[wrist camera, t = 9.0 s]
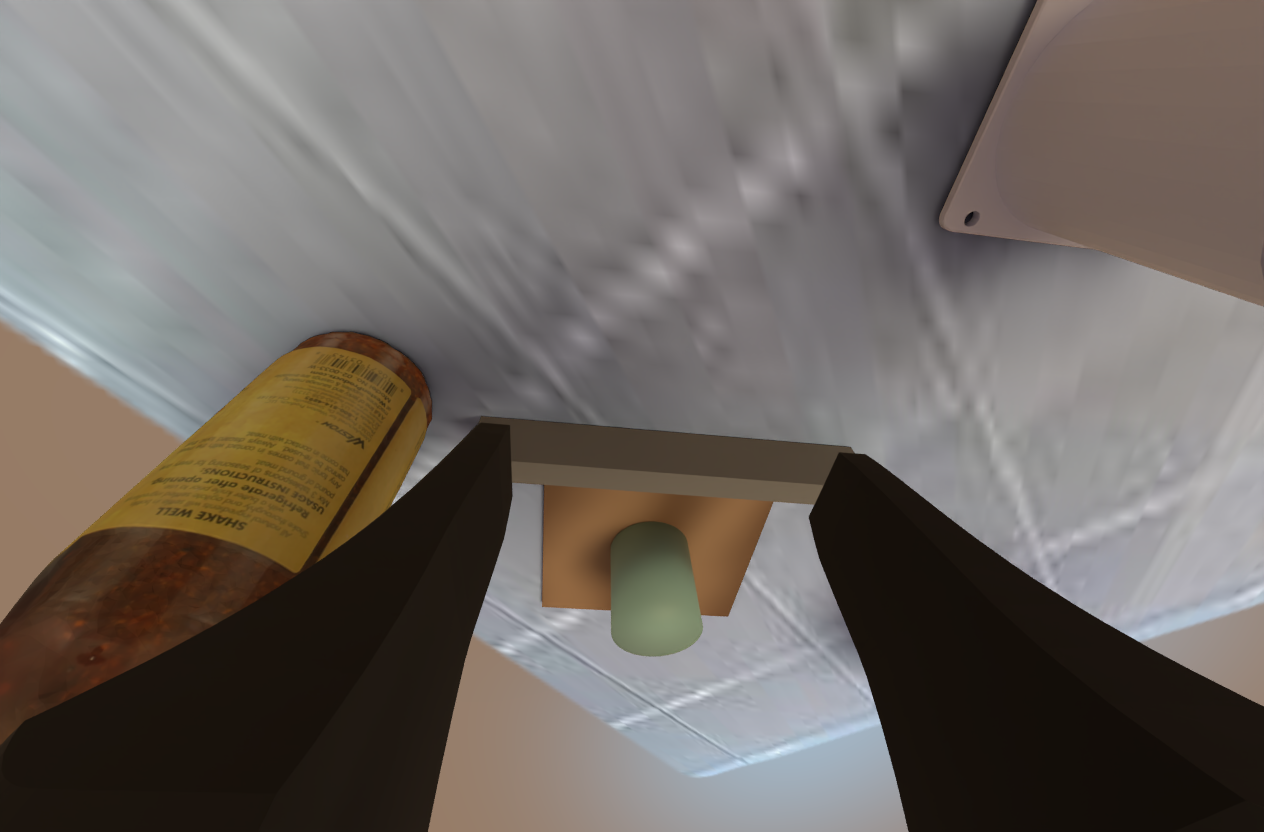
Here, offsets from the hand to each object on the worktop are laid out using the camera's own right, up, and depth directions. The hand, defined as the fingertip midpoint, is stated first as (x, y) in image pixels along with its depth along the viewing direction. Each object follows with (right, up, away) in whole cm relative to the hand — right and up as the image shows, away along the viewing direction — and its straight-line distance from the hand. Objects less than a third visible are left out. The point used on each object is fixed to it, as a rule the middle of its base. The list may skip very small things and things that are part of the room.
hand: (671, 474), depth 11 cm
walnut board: (0, -6, +17) cm, 18 cm away
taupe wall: (+1, 0, +13) cm, 13 cm away
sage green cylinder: (0, -6, +16) cm, 18 cm away
